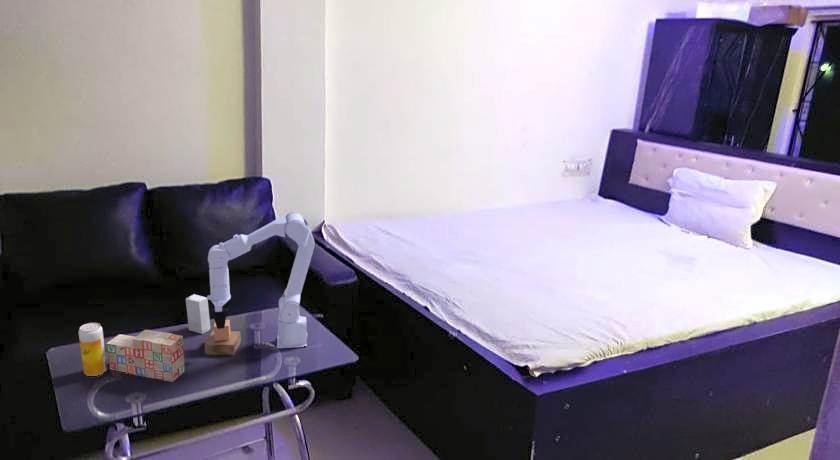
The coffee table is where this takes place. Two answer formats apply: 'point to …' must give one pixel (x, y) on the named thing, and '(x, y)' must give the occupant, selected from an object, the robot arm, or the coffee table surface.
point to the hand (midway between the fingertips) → (222, 322)
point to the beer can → (92, 349)
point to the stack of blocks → (148, 355)
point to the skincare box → (198, 314)
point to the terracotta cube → (222, 332)
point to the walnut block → (223, 344)
